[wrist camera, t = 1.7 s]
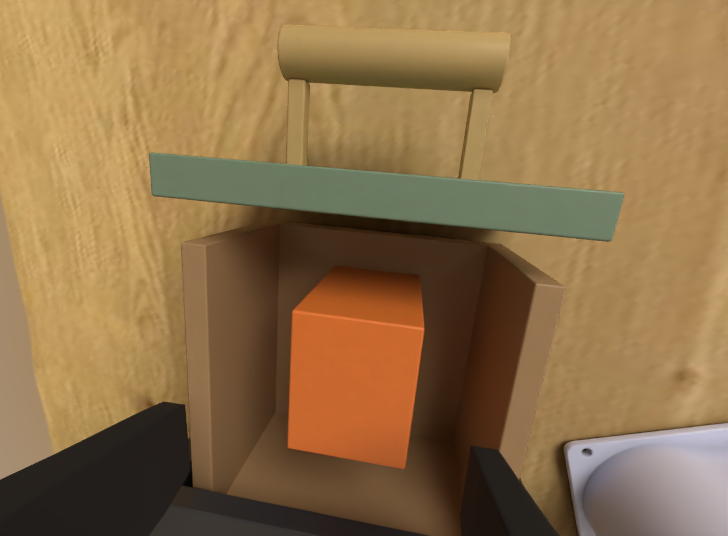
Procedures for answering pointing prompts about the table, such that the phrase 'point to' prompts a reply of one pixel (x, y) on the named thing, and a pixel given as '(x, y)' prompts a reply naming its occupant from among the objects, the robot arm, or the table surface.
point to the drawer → (381, 253)
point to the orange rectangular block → (356, 366)
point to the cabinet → (253, 517)
